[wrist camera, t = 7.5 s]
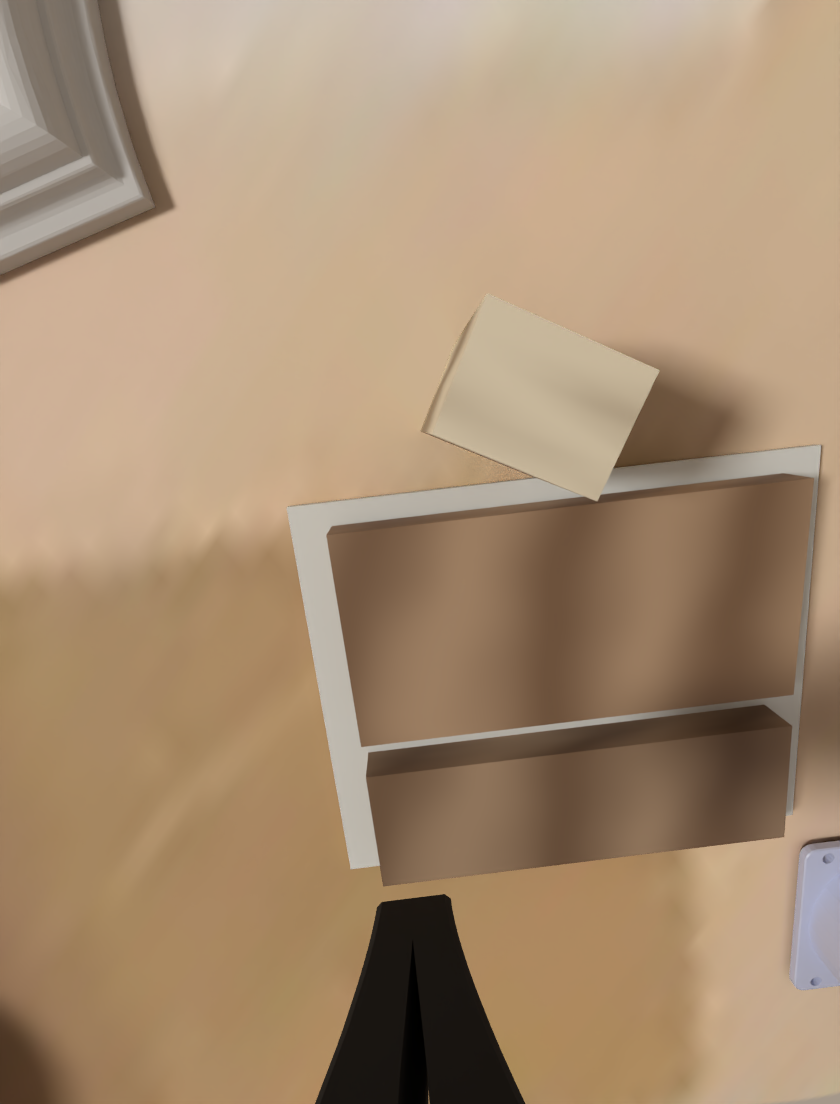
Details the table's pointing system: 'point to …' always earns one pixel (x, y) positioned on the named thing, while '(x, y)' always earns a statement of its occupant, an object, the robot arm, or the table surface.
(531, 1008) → the table surface
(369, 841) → the underlay
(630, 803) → the laid plank
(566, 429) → the block
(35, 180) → the molding
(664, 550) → the board
